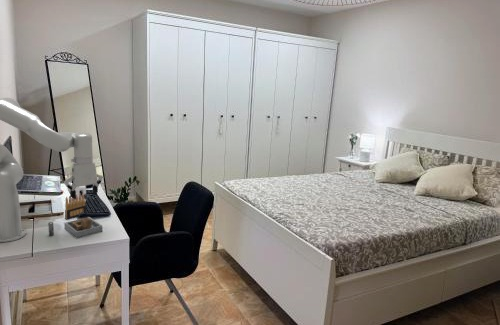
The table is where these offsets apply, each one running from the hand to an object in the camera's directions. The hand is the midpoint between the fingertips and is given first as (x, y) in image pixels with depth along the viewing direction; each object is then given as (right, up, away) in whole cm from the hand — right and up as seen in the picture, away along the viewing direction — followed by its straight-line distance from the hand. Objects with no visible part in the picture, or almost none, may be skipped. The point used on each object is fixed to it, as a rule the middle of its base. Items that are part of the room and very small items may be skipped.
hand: (84, 196), depth 162 cm
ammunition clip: (-14, -13, +21) cm, 29 cm away
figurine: (-21, -9, +36) cm, 42 cm away
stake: (-15, -18, -1) cm, 23 cm away
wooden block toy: (-3, -16, +6) cm, 18 cm away
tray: (-3, -17, +6) cm, 18 cm away
